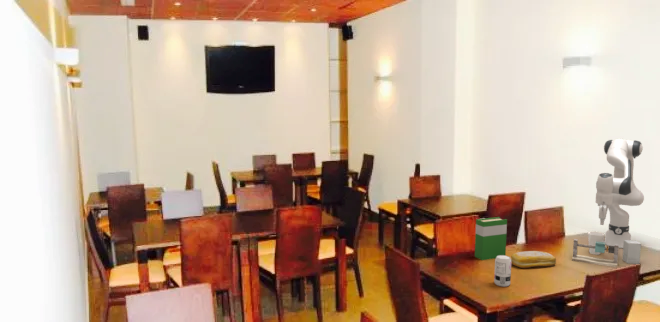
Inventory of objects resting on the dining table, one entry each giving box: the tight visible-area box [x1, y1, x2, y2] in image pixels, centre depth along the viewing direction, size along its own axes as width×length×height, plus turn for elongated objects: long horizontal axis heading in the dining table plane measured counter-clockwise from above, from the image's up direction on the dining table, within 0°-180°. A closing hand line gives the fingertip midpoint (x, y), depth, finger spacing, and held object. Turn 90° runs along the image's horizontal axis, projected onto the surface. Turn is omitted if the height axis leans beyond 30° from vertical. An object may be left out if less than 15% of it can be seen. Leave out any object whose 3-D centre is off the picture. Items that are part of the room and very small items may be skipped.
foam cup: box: [587, 230, 606, 256], centre depth 324 cm, size 10×9×13 cm
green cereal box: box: [474, 216, 508, 261], centre depth 316 cm, size 18×7×24 cm, turn 111°
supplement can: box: [493, 255, 512, 288], centre depth 270 cm, size 8×8×15 cm
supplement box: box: [622, 239, 642, 265], centre depth 307 cm, size 7×7×13 cm
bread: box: [510, 250, 557, 269], centre depth 302 cm, size 13×26×8 cm, turn 106°
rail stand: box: [571, 238, 619, 268], centre depth 307 cm, size 10×24×12 cm, turn 59°
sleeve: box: [595, 241, 606, 254], centre depth 305 cm, size 4×5×5 cm
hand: (602, 222), depth 305 cm, fingers open, 8 cm apart
